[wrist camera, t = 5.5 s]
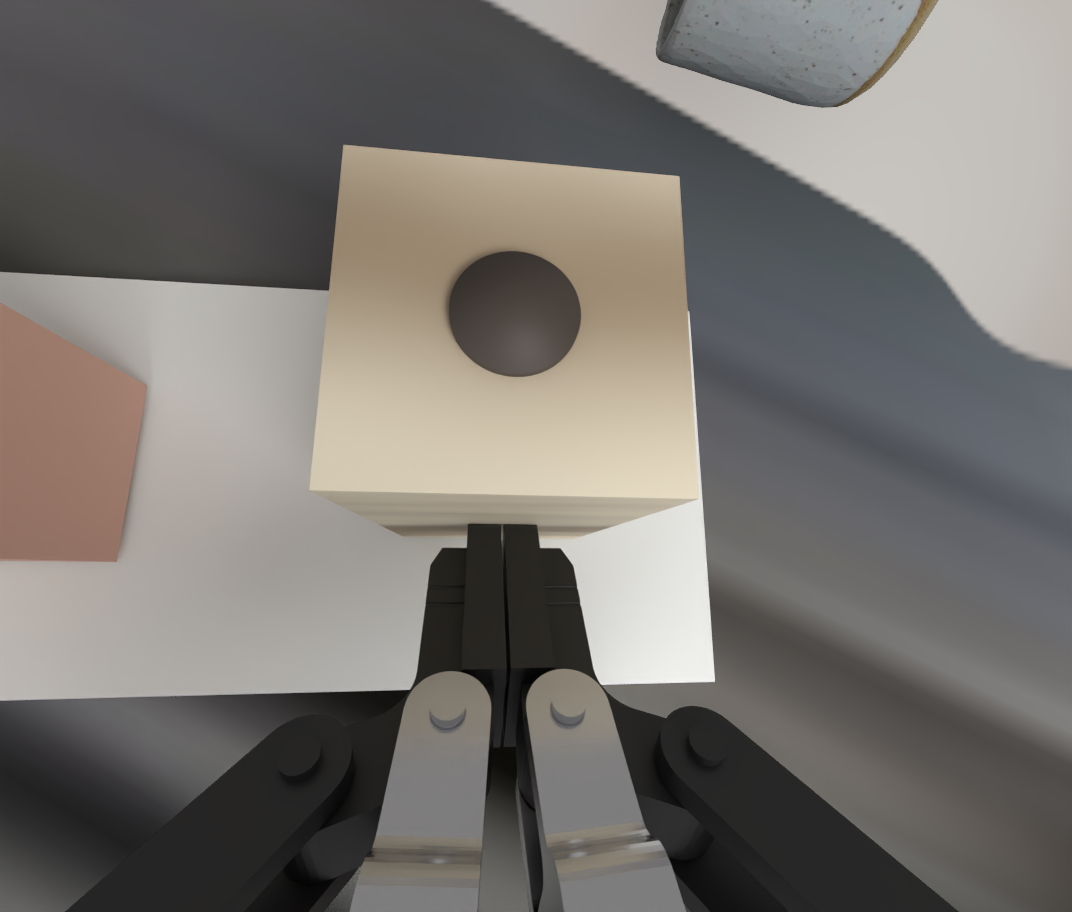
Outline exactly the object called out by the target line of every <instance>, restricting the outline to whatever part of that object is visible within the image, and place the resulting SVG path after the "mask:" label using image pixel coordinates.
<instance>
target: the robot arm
mask: <svg viewBox="0 0 1072 912" xmlns="http://www.w3.org/2000/svg"><path fill="white" fill-rule="evenodd" d="M502 718H503V735H504V747H514V746H516V754H517V782H516V800H517V809H518V818H519V827H520V836H521V844H522V853H523V862H524V871H525V880H526V888H527V897H528V906H529V912H686V910H685V906H684V904H685V905H686V906H687V907H688V908H689V910H690V911H691V912H958V911H957V910H956V909H955V908H954V907H952V906H951V905H950V904H949V903H948V902H946V901H945V900H944V899H943V898H942V897H940V896H939V895H938V894H937V893H936V892H934V891H933V890H932V889H931V888H929V887H928V886H927V885H926V884H925V883H923V882H922V881H921V880H920V879H919V878H917V877H916V876H915V875H914V874H913V873H911V872H910V871H909V870H908V869H907V868H905V867H904V866H903V865H902V864H901V863H899V862H898V861H897V860H896V859H895V858H893V857H892V856H891V855H890V854H888V853H887V852H886V851H885V850H884V849H882V848H881V847H880V846H879V845H878V844H876V843H875V842H874V841H873V840H872V839H870V838H869V837H868V836H867V835H866V834H864V833H863V832H862V831H861V830H860V829H858V828H857V827H856V826H855V825H854V824H852V823H851V822H850V821H849V820H848V819H846V818H845V817H844V816H843V815H841V814H840V813H839V812H838V811H837V810H835V809H834V808H833V807H832V806H831V805H829V804H828V803H827V802H826V801H825V800H823V799H822V798H821V797H820V796H819V795H817V794H816V793H815V792H814V791H813V790H811V789H810V788H809V787H808V786H807V785H805V784H804V783H803V782H802V781H800V780H799V779H798V778H797V777H796V776H794V775H793V774H792V773H791V772H790V771H788V770H787V769H786V768H785V767H784V766H782V765H781V764H780V763H779V762H778V761H776V760H775V759H774V758H773V757H772V756H770V755H769V754H768V753H767V752H766V751H764V750H763V749H762V748H761V747H759V746H758V745H757V744H756V743H755V742H753V741H752V740H751V739H750V738H749V737H747V736H746V735H745V734H744V733H743V732H741V731H740V730H739V729H738V728H737V727H735V726H734V725H733V724H732V723H731V722H729V721H728V720H727V719H725V718H724V717H723V716H721V715H720V714H718V713H716V712H714V711H712V710H709V709H707V708H703V707H697V706H687V707H682V708H679V709H677V710H675V711H673V712H672V713H671V714H670V715H668V717H667V718H663V717H660V716H656V715H653V714H650V713H646V712H643V711H640V710H636V709H633V708H631V707H628V706H626V705H624V704H622V703H620V702H619V701H617V700H616V699H614V698H613V697H612V696H611V695H610V694H608V693H607V692H606V690H605V689H604V688H603V687H602V686H601V684H600V682H599V681H598V679H597V677H596V675H595V672H594V668H593V664H592V659H591V654H590V649H589V643H588V638H587V633H586V628H585V623H584V618H583V613H582V608H581V606H580V597H579V592H578V589H577V582H576V577H575V572H574V566H573V564H572V563H571V562H570V560H569V559H568V558H567V556H566V555H565V554H564V552H563V551H562V550H561V548H540V543H539V535H538V528H537V525H525V524H504V525H503V536H502V533H501V524H468V532H467V548H442V549H441V550H440V552H439V553H438V555H437V556H436V558H435V559H434V560H433V562H432V563H431V565H430V571H429V579H428V589H427V595H426V605H425V611H424V619H423V627H422V635H421V643H420V652H419V660H418V668H417V674H416V678H415V680H414V683H413V685H412V687H411V689H410V690H409V692H408V693H407V694H406V696H405V697H404V698H403V699H402V700H401V701H400V702H399V703H398V704H397V705H395V706H394V707H393V708H391V709H390V710H388V711H386V712H385V713H383V714H381V715H378V716H376V717H373V718H370V719H367V720H365V721H362V722H359V723H356V724H353V725H350V726H347V727H343V726H342V725H341V723H339V722H338V721H336V720H335V719H332V718H330V717H327V716H322V715H309V716H303V717H300V718H296V719H294V720H291V721H289V722H287V723H285V724H283V725H282V726H280V727H278V728H277V729H276V730H275V731H273V732H272V733H271V734H270V735H268V736H267V737H266V738H265V739H264V740H263V741H261V742H260V743H259V744H258V745H257V746H256V747H255V748H253V749H252V750H251V751H250V752H249V753H248V754H246V755H245V756H244V757H243V758H242V759H241V760H240V761H238V762H237V763H236V764H235V765H234V766H233V767H231V768H230V769H229V770H228V771H227V772H226V773H225V774H223V775H222V776H221V777H220V778H219V779H218V780H216V781H215V782H214V783H213V784H212V785H211V786H210V787H208V788H207V789H206V790H205V791H204V792H203V793H201V794H200V795H199V796H198V797H197V798H196V799H195V800H193V801H192V802H191V803H190V804H189V805H188V806H186V807H185V808H184V809H183V810H182V811H181V812H180V813H178V814H177V815H176V816H175V817H174V818H173V819H171V820H170V821H169V822H168V823H167V824H166V825H165V826H163V827H162V828H161V829H160V830H159V831H158V832H156V833H155V834H154V835H153V836H152V837H151V838H150V839H148V840H147V841H146V842H145V843H144V844H143V845H142V846H140V847H139V848H138V849H137V850H136V851H135V852H133V853H132V854H131V855H130V856H129V857H128V858H127V859H125V860H124V861H123V862H122V863H121V864H120V865H118V866H117V867H116V868H115V869H114V870H113V871H112V872H110V873H109V874H108V875H107V876H106V877H105V878H103V879H102V880H101V881H100V882H99V883H98V884H97V885H95V886H94V887H93V888H92V889H91V890H90V891H88V892H87V893H86V894H85V895H84V896H83V897H82V898H80V899H79V900H78V901H77V902H76V903H75V904H73V905H72V906H71V907H70V908H69V909H68V910H67V911H65V912H324V911H325V909H326V908H327V907H328V906H329V905H330V903H331V902H332V901H333V900H334V898H335V897H336V896H337V895H338V893H339V892H340V891H341V890H342V888H343V887H344V886H345V885H346V884H347V882H348V881H349V880H350V879H351V877H352V876H353V875H354V874H355V872H356V871H357V869H358V868H359V867H360V866H362V867H361V870H360V873H359V876H358V880H357V883H356V887H355V891H354V895H353V900H352V904H351V908H350V912H478V906H479V891H480V877H481V862H482V848H483V833H484V819H485V804H486V797H487V795H488V793H489V789H490V783H491V769H492V755H493V748H494V747H500V742H501V730H502Z"/></svg>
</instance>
